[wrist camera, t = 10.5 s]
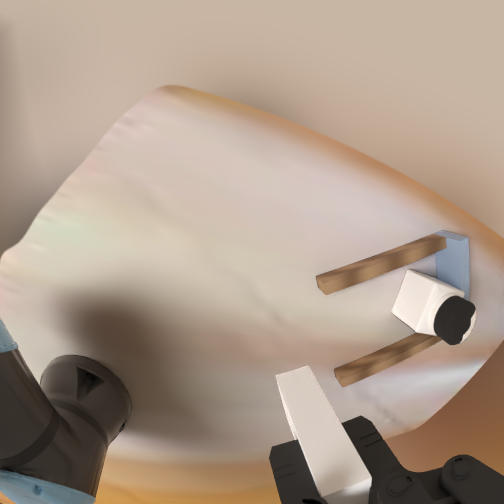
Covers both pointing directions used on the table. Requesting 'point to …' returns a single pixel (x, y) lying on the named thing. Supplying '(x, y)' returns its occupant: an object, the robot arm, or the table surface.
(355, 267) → the guide channel
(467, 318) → the medicine bottle
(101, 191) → the table surface
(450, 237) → the end stop
